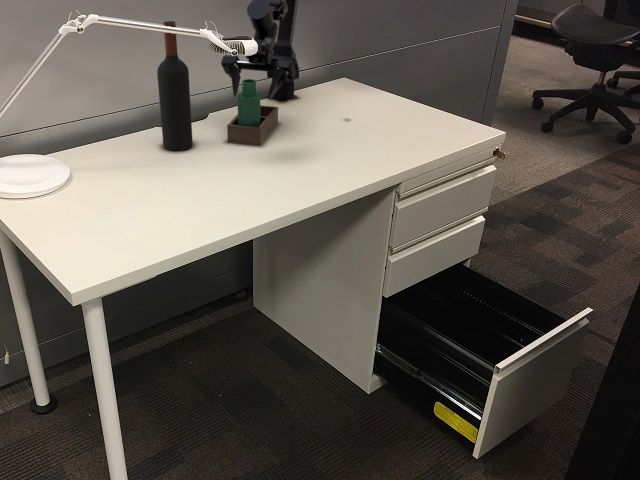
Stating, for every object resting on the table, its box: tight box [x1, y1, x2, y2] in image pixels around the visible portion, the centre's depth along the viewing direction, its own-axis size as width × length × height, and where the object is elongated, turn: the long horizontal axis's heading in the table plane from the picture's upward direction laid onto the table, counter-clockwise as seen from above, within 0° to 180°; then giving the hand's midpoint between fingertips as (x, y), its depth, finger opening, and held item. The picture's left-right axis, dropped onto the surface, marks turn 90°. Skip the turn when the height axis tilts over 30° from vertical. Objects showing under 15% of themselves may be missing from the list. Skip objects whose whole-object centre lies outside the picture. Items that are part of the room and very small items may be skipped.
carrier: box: [226, 104, 279, 147], centre depth 178 cm, size 17×9×5 cm, turn 162°
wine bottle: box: [156, 20, 194, 153], centre depth 163 cm, size 8×8×30 cm
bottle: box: [237, 78, 262, 127], centre depth 171 cm, size 6×6×14 cm
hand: (251, 97), depth 172 cm, fingers open, 9 cm apart
